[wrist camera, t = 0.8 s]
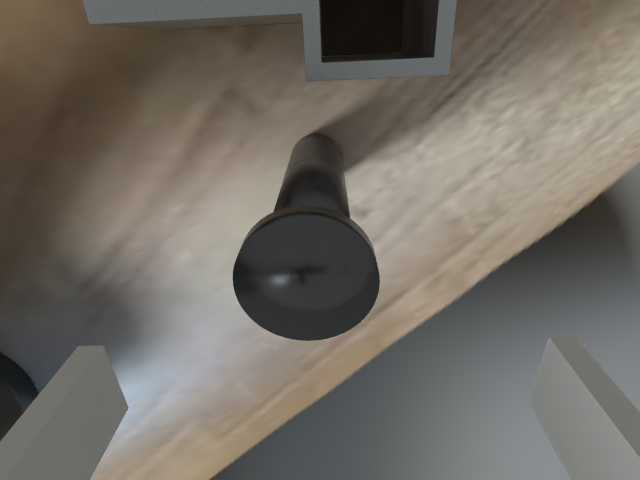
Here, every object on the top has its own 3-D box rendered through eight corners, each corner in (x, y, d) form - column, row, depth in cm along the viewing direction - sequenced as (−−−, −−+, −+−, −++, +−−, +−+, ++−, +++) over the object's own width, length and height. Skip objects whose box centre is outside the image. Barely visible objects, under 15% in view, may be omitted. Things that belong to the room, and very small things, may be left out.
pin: (284, 194, 31) (243, 341, 16) (277, 124, 28) (221, 220, 13) (352, 192, 31) (377, 339, 16) (352, 121, 28) (381, 215, 13)
